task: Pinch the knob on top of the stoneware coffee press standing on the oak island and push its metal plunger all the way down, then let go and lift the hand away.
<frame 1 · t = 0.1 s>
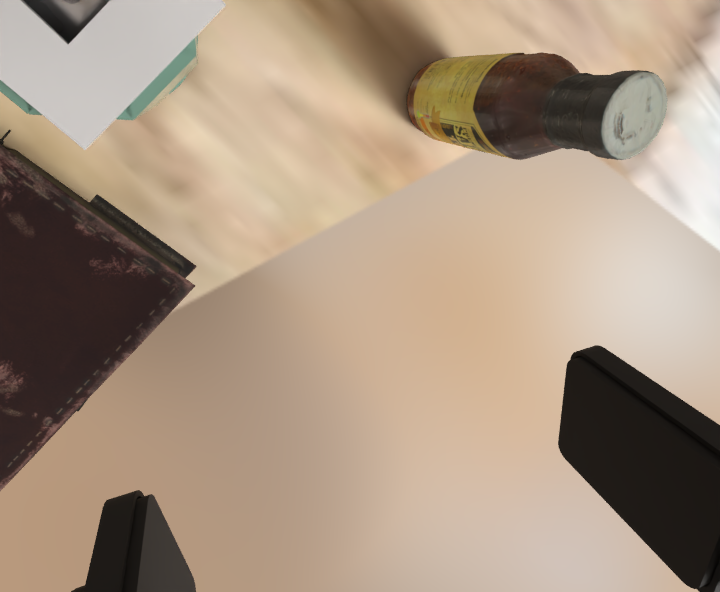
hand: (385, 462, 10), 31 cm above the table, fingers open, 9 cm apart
sauce bottle: (438, 100, 39), on the table
diary: (0, 310, 36), on the table
press carafe: (117, 22, 30), on the table
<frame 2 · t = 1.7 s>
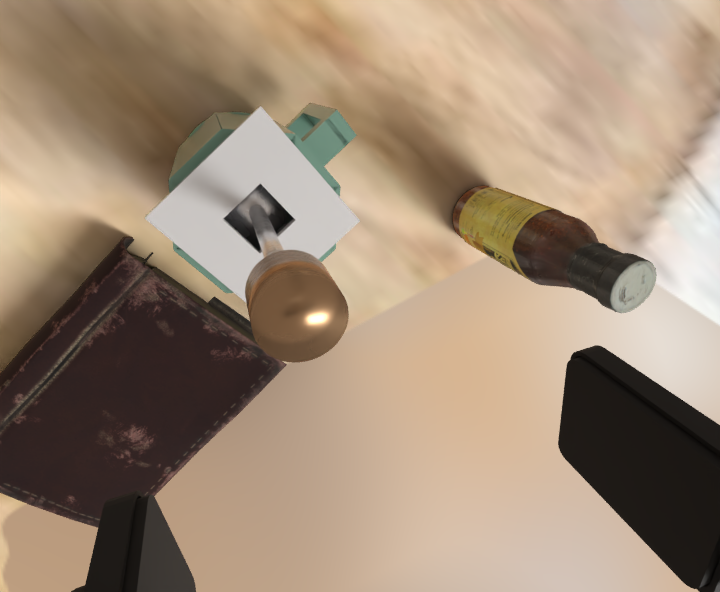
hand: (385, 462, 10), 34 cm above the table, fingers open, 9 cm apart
sauce bottle: (476, 212, 48), on the table
diary: (129, 382, 45), on the table
press carafe: (241, 173, 39), on the table
plunger: (272, 249, 22), point 20 cm above the table, slide at 0.0 cm
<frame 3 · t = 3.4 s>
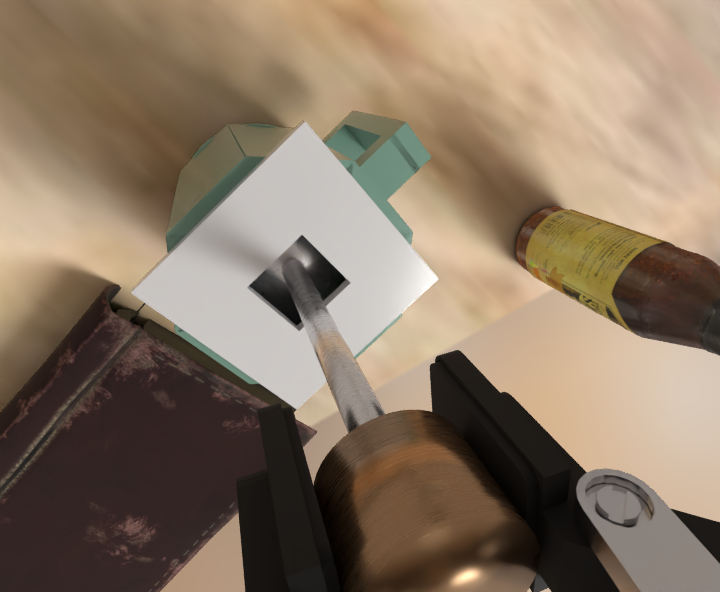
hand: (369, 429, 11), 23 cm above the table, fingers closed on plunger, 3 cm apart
sauce bottle: (542, 238, 40), on the table
diary: (124, 455, 37), on the table
press carafe: (260, 201, 31), on the table
plunger: (333, 352, 14), point 20 cm above the table, slide at 0.0 cm, touching gripper
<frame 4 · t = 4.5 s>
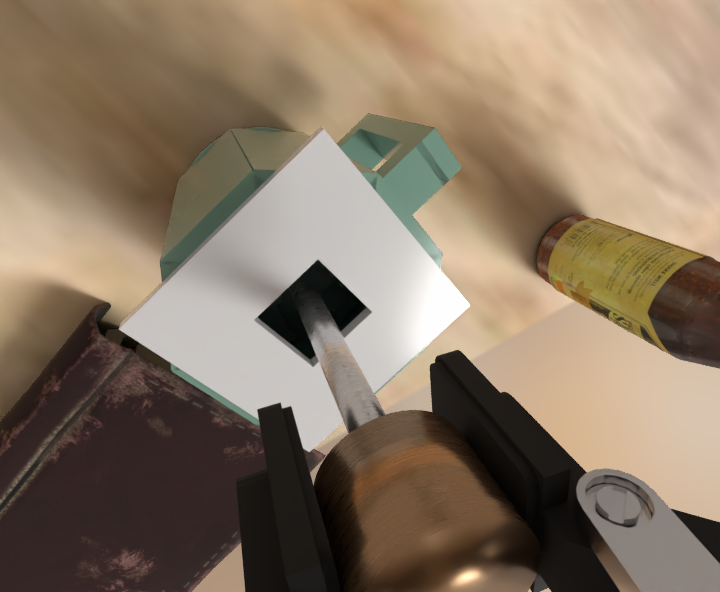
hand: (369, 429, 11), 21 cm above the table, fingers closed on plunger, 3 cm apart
sauce bottle: (564, 248, 37), on the table
diary: (119, 481, 34), on the table
press carafe: (265, 211, 29), on the table
plunger: (333, 352, 14), point 17 cm above the table, slide at 2.8 cm, touching gripper
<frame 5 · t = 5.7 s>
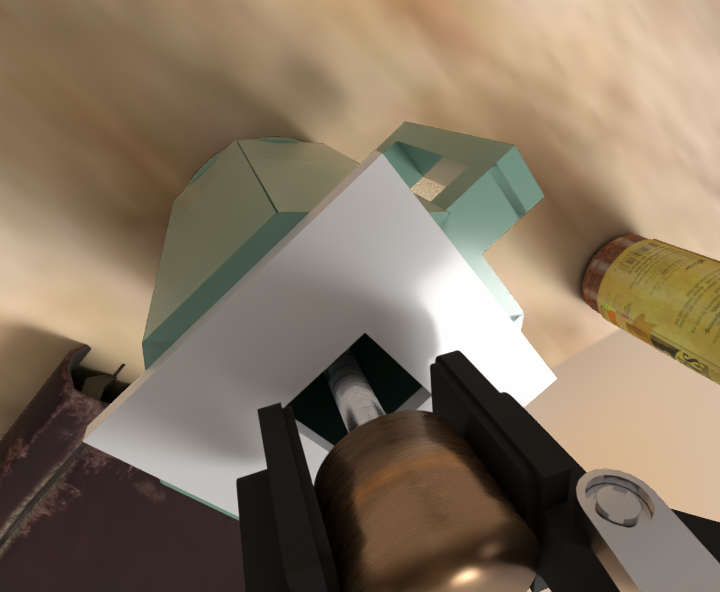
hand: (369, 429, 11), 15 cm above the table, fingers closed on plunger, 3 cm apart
sauce bottle: (612, 271, 33), on the table
diary: (107, 541, 30), on the table
press carafe: (277, 235, 24), on the table
plunger: (333, 352, 14), point 12 cm above the table, slide at 7.9 cm, touching gripper
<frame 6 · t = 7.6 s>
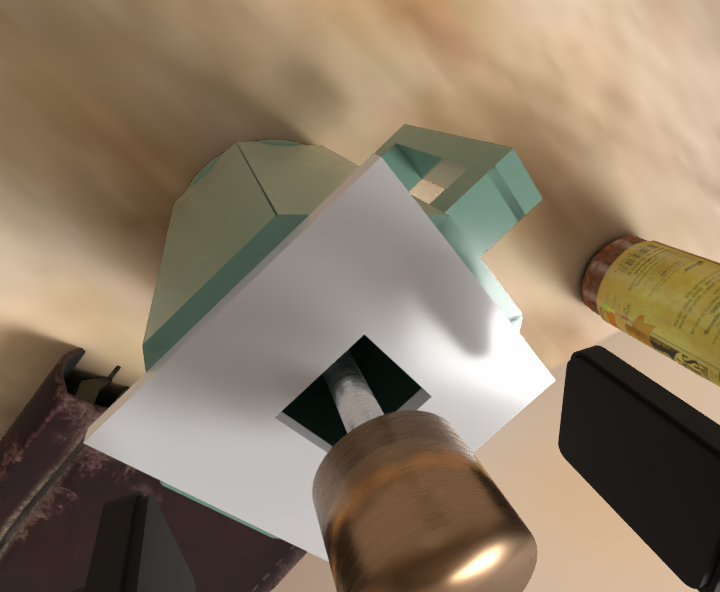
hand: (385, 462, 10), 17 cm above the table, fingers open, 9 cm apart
sauce bottle: (612, 272, 33), on the table
diary: (108, 543, 30), on the table
press carafe: (276, 238, 24), on the table
plunger: (332, 353, 14), point 12 cm above the table, slide at 7.9 cm
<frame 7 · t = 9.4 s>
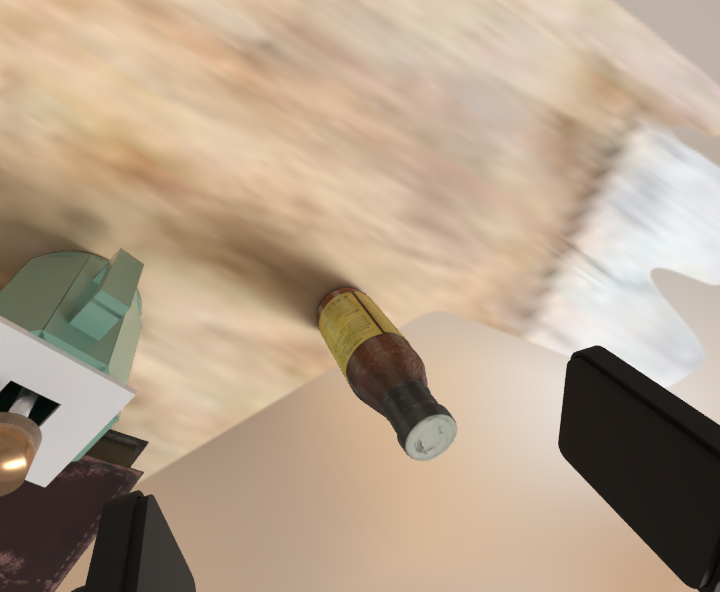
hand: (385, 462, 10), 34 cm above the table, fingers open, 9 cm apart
sauce bottle: (344, 310, 48), on the table
diary: (1, 500, 46), on the table
press carafe: (77, 305, 40), on the table
plunger: (34, 384, 29), point 12 cm above the table, slide at 7.9 cm
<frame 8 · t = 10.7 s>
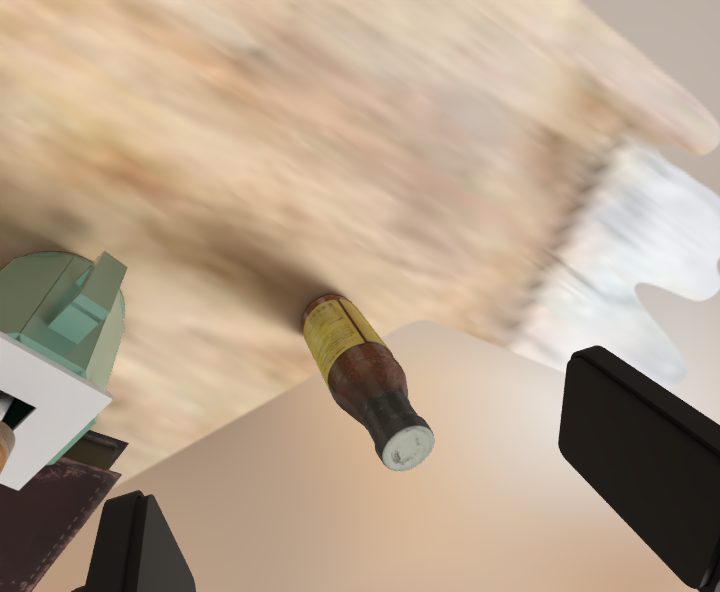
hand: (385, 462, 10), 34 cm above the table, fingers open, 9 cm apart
sauce bottle: (330, 317, 48), on the table
press carafe: (60, 306, 39), on the table
plunger: (10, 386, 29), point 12 cm above the table, slide at 7.9 cm
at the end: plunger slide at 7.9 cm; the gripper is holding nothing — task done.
